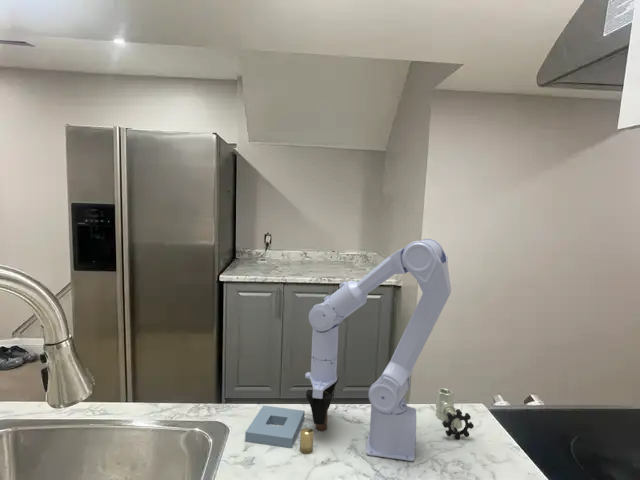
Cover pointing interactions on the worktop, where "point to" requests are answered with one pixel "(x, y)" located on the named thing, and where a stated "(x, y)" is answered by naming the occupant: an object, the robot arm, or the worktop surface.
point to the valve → (451, 414)
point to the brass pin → (306, 441)
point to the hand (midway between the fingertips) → (321, 415)
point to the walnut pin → (324, 426)
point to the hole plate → (275, 434)
